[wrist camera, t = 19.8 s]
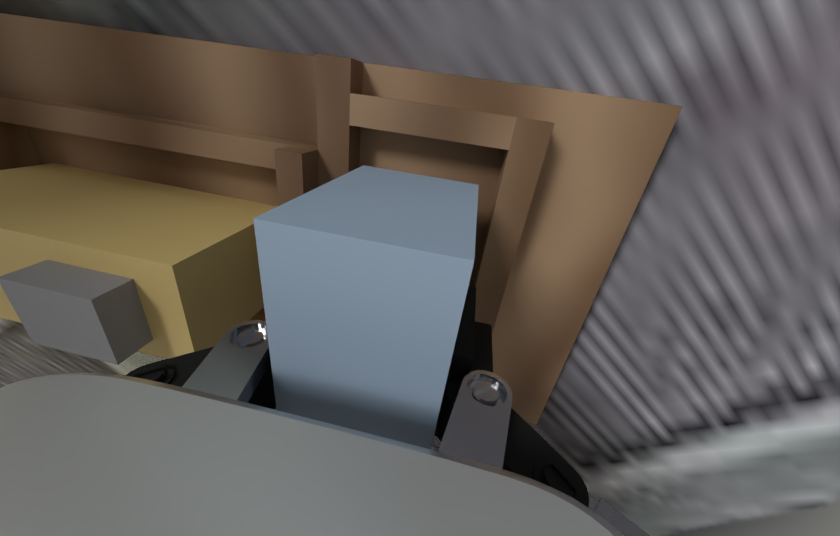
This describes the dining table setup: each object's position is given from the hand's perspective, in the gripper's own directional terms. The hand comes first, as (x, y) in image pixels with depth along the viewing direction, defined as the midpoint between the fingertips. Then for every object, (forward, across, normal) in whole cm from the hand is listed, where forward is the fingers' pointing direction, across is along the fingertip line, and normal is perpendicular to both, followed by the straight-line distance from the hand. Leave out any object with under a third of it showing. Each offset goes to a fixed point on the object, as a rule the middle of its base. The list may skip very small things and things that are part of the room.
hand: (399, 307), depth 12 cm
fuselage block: (+3, +12, 0) cm, 13 cm away
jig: (+4, +6, 0) cm, 7 cm away
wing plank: (+1, 0, 0) cm, 1 cm away
